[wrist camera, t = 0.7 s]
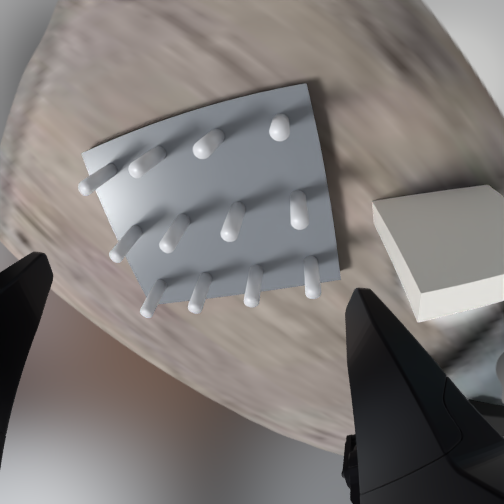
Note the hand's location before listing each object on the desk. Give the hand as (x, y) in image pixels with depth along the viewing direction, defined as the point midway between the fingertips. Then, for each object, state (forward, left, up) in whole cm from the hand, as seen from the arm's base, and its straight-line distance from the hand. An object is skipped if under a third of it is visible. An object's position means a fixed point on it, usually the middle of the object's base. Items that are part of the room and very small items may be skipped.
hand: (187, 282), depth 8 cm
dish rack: (-3, +3, -14) cm, 14 cm away
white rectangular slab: (-6, -13, -14) cm, 20 cm away
